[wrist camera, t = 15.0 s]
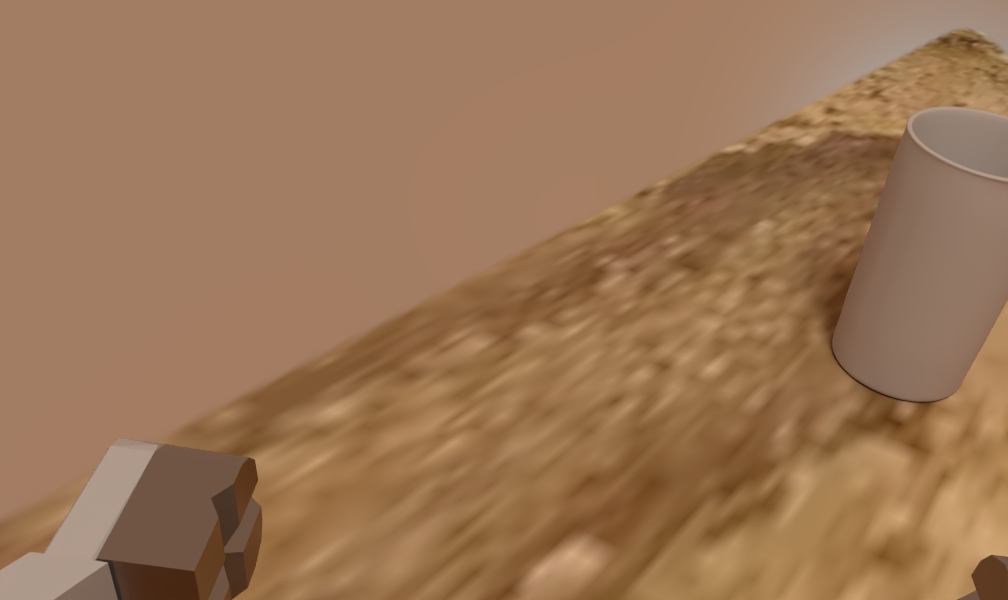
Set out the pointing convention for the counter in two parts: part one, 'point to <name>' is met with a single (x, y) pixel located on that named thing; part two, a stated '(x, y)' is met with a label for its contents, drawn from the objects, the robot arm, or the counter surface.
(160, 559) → the robot arm
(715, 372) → the counter surface
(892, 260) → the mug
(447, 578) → the counter surface
